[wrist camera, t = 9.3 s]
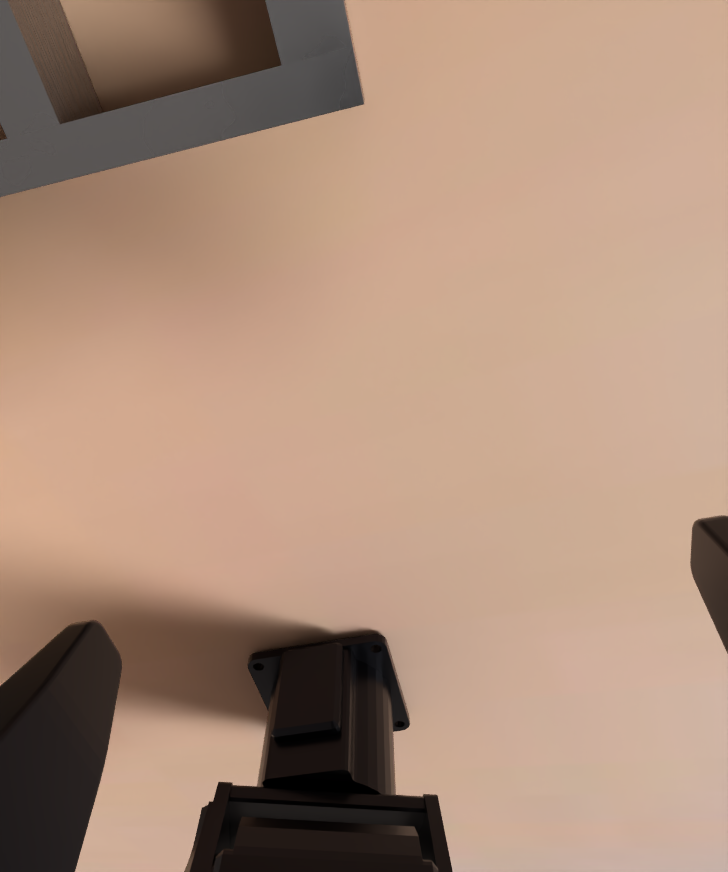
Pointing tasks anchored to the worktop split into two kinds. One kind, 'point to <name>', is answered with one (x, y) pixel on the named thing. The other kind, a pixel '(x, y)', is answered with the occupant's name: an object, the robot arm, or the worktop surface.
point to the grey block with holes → (163, 117)
